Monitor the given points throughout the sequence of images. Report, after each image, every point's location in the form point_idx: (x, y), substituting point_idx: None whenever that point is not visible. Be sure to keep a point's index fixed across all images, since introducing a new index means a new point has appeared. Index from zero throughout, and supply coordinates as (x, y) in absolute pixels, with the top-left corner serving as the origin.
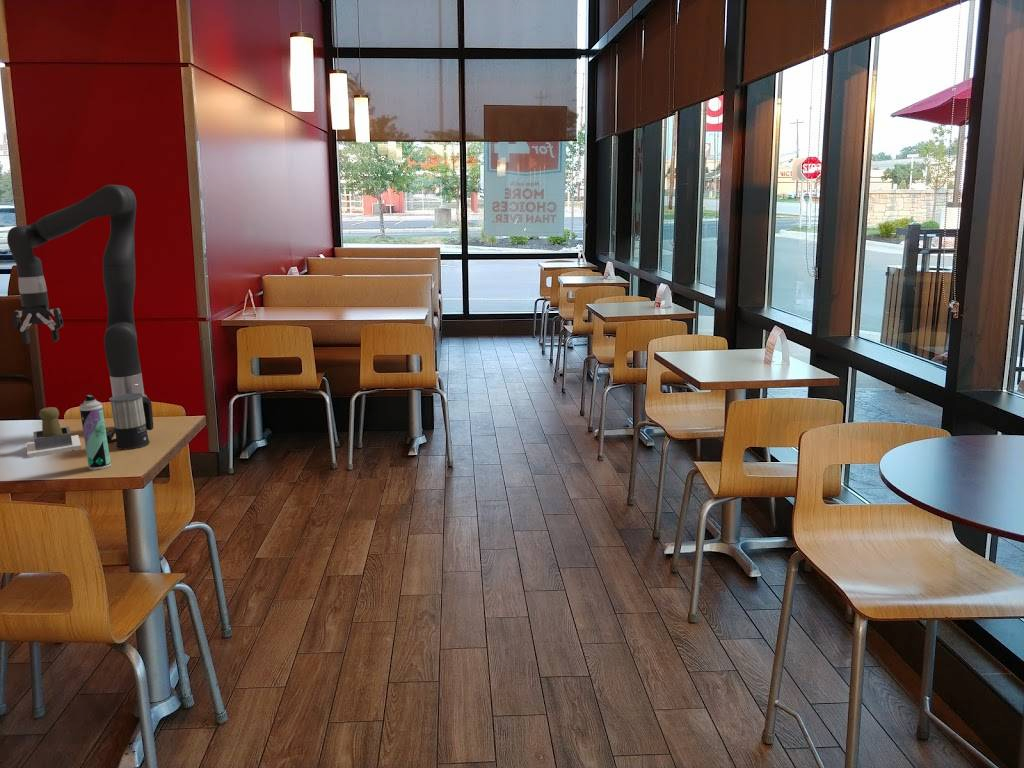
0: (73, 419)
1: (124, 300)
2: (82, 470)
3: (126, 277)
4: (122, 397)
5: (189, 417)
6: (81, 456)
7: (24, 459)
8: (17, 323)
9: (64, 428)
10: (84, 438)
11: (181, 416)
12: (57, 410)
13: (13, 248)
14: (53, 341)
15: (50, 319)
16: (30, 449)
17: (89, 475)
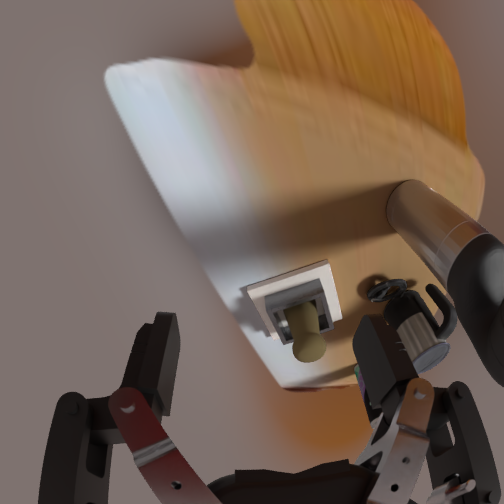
0: (263, 75)
1: None
2: (348, 371)
3: None
4: (426, 361)
5: (478, 170)
6: (343, 338)
7: (270, 340)
8: (109, 472)
9: (317, 297)
10: (362, 396)
11: (470, 155)
12: (325, 350)
13: None
14: (357, 345)
15: (409, 465)
16: (270, 324)
17: (354, 380)
